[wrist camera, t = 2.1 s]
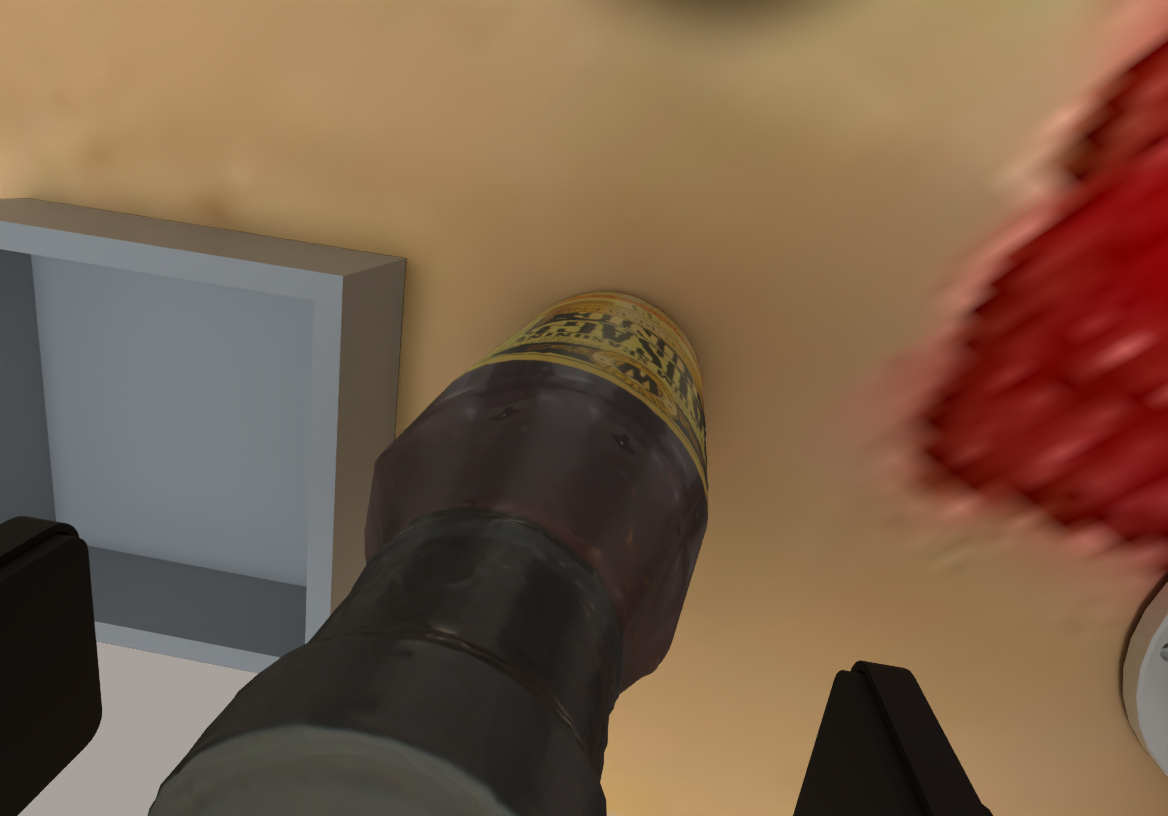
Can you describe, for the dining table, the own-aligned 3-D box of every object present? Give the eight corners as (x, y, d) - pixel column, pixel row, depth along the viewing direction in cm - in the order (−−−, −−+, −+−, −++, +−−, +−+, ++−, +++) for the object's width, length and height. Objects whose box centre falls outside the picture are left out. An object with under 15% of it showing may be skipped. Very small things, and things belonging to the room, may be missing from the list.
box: (405, 258, 24) (342, 276, 20) (383, 603, 29) (327, 686, 24) (28, 198, 25) (-120, 201, 20) (60, 542, 29) (-56, 611, 25)
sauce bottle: (736, 355, 24) (989, 964, 5) (628, 491, 26) (526, 1301, 7) (576, 240, 24) (219, 461, 5) (477, 388, 25) (-60, 968, 7)
